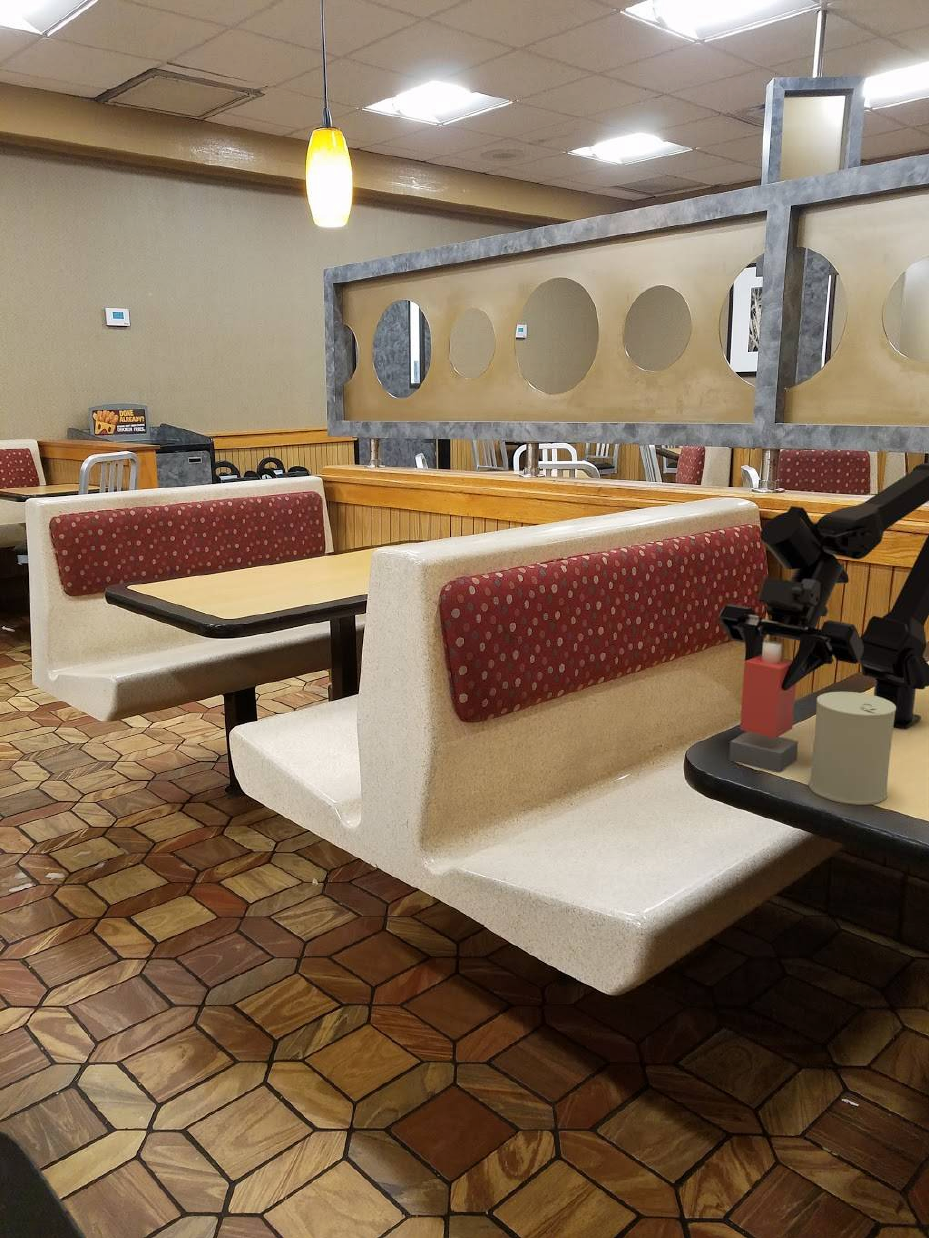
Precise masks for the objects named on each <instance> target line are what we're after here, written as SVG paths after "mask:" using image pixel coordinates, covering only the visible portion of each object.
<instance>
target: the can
mask: <svg viewBox="0 0 929 1238" xmlns="http://www.w3.org/2000/svg"><path fill="white" fill-rule="evenodd" d="M815 710H816V712H815V723H814V724H815V725H814V729H815V730H814V736H813V737H814V738H813V739H814V740H813V749H812V750H813V751H812V758H811V769H810V776H809V777H810V778H809V780H808V787H809V789H810V790H811V791H812V792H813V793H814V794H816V795H818V796H819V797H821V798H823V799H826V800H828V801H832V802H836V803H841V804H845V805H847V804H848V805H854V806H855V805H857V806H858V805H859V806H867V805H876V804H879V803H882V802H884V801H885V800H886V799H887V798H888V779H889V778H888V777H889V770H890V769H889V768H890V757H891V750H892V739H893V731H894V726H893V725H894V717H895V711H896V706H895V705H894V704H893V703H892V702H890V701H889V700H886V699H884V698H881V697H878V696H874V694H868V693H864V692H863V693H862V692H856V691H854V692H853V691H831V692H824V693H822V694H820V695H818V696H817V697H816V709H815Z"/></svg>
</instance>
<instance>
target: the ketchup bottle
mask: <svg viewBox="0 0 929 1238" xmlns="http://www.w3.org/2000/svg"><path fill="white" fill-rule="evenodd" d="M782 647H783V642H780V641H776V640H764V642H763V649H762V655H759V656H757V657H754V658H752V659H750V660H747V661H745V660H744V667H743V682H742V694H741V712H740V727H739V730H740V731H745V732H746V731H748V732H752V733H756V734H760V735H764V736H767V737H771V738H777V737H781V736H782V735H784V734H786V733H788V732H789V731H791V730H793V723H794V713H795V712H794V710H795V699H796V698H795V697H796V684H797V683H796V684H794V685H793V686H792V687H791V688H789V689H788V690H786V691H785V690H783V689H782V683H783V680H784V677H785V675H786V673H787V671H788V669H789V667H790V665H791V663H792V661H793V659H789V658H783V657H782V651H783V650H782Z"/></svg>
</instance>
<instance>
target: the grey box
mask: <svg viewBox="0 0 929 1238" xmlns="http://www.w3.org/2000/svg"><path fill="white" fill-rule="evenodd" d="M798 747H799V741H798V740H794V739H789V738H787V737H781V736H778V737H777V738H771V737H767V736H764V735H760V734H756V733H752V732H748V731H745V732H743V733H742V734H740V735H738V736H737V737H736V738H734V739H732V740H731V741H730V742H729V755H728V756H729V757H728V761H730V762H733V763H734V762H735V763H739V764H742V765H746V766H750V767H754V768H759V769H762V770H766V771H770V772H773V773H778V774H780V773H781V772H782V771H784V770H785V769H786V768H788V767H789V766H791V765H792V764H793V763H795V762H796V761H797V760H798V759H797V758H798V751H799V750H798ZM794 761H795V762H794Z"/></svg>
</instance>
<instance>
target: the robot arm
mask: <svg viewBox="0 0 929 1238" xmlns="http://www.w3.org/2000/svg"><path fill="white" fill-rule="evenodd" d="M928 502H929V463H926V462H924V463H921V464H917V465H916V466H915V467H913V469H912V471H911V472H909V473H907V474H906V475H904V476H902V477H901V478H900V479H899V480H897V481H895V482H894V483H892V484H890V485H889V486H887V487H886V488H884V489H883V490H881V491H879V492H878V493H876V494H875V495H874V496H872V497H870V498H869V499H867V500H866V501H864V502H862V503H859V504H858V505H857V504H856V505H852V506H847V507H842V508H841V507H840V508H838V509H836V510H833V511H832V512H831V511H830V512H828V513H826V514H824V515H822V516H821V517H820V518H819V519H818V520H817V522H815V523H814V522H813V521H812V520H811V518H810V516H809V514H808V512H807V511H806V509H805V508H804V507H801V506H794V505H792V506H790V507H789V509H788V510H787V511H785V512H781V513H779V514H778V515H776V516H774V517H772V518H771V519H770V520H768V521H766V522H765V523H764V525H763V526H762V528H761V530H760V540H761V541H762V542H763V544H764V545H765V546H766V547H767V549H768V550H769V551H770V552H771V553H772V554H773V556H774V558H776V559H777V561H778V562H779V563H780V565H782V567H783V568H784V569H787V570H794V571H793V572H792V575H791V577H790V579H789V580H788V579H780V578H773V577H764V578H763V580H762V584H761V588H760V591H759V593H758V594H759V595H758V599H757V601H758V602H760V603H763V604H765V605H766V607H765V612H766V614H767V615H769V616H771V618H770V619H763V618H762V617H761V616H760V615H759V616H758V615H757V614H756V613H755V610H753V608H752V607H749V606H743V605H738V604H732V603H729V604H726V605H724V606H723V607H722V608H721V610H720V612H719V614H718V616H717V619H718V621H719V622H720V624H721V626H722V628H723V630H724V631H725V633H726V635H727V636H728V638H729V639H730V640H732V641H734V642H739V643H744V646H745V650H744V651H745V652H744V653H745V655H744V662H745V661H747V660H750V659H752V658H754V657H757V656H759V655H762V649H763V642H764V641H765V640H766V639H765V638H767V636H773V637H777V638H782V639H787V640H791V641H797V642H798V641H799V644H798V650H797V652H796V654H795V656H794V657H793V659H792V660H793V661H792V663H791V665H790V667H789V669H788V671H787V673H786V675H785V677H784V680H783V683H782V689H783V690H785V691H786V690H788V689H789V688H791V687H792V686H793V685H794V684H797V683H798V682H800V681H802V680H803V678H805V677H806V676H807V675H809V674H811V673H812V672H815V671H816V670H817V669H819V668H821V667H822V666H824V665H826V664H827V665H831V664H833V662H834V659H835V660H836V661H837V662H842V663H847V664H853V665H856V664H859V663H860V667H861V671H862V672H861V673H862V676H864V677H870V678H873V679H874V687H873V689H874V690H873V695H874V696H878V697H881V698H884V699H886V700H889V701H890V702H892V703H893V704H894V705H895V706H896V711H895V717H894V725H893V727H896V728H901V729H907V728H909V727H910V726H912V725H914V724H916V723H917V722H919V721H921V719H922V716H921V715H919V714H915V713H914V708H915V700H916V691H917V690H925V689H926V687H929V663H928V661H927V660H926V659H925V657H924V654H925V651H926V649H927V637H926V632H925V630H926V629H925V624H926V621H927V620H928V618H929V533H928V534H927V536H926V538H925V540H924V543H923V544H922V546H921V549H920V551H919V553H918V555H917V556H916V559H915V561H914V563H913V566H912V567H911V569H910V570H909V573H908V575H907V578H906V579H905V582H904V583H903V585H902V587H901V589H900V592H899V594H898V596H896V600H895V602H894V603H893V606H892V608H891V610H890V611H889V612H887V613H886V614H884V615H883V616H882V617H881V616H877V615H872V617H870V619H869V620H868V623H867V626H866V628H865V631H864V632H863V633H862V635H861V636H860V634H859V631H858V629H857V627H856V626H855V624H853V623H847V622H841V621H837V620H836V621H834V620H830V619H829V620H825V621H823V624H822V626H821V627H820V628H817V626H818V623H819V621H820V619H821V617H824V618H825V617H826V616H827V614H828V612H829V609H828V607H827V604H828V602H829V599H830V597H831V596H832V592H833V590H834V589H835V586H836V585H837V584H848V583H849V582H850V579H849V575H848V573H847V572H846V568H845V564H844V563H840V561H839V560H838V558H837V557H841V558H846V559H852V560H861V559H864V558H866V557H867V556H868V555H870V553H871V552H872V551H873V550H875V548H876V547H877V546H878V545H879V544H880V543H882V540H883V537H884V533H885V531H886V530H887V529H888V528H890V527H892V526H893V525H895V524H896V523H897V522H899V521H901V520H902V519H903V518H906V517H907V516H908V515H910V514H911V513H912V512H914V511H916V510H917V509H919V508H920V507H921V506H923V505H924V504H925V505H926V503H928ZM833 657H834V658H833Z"/></svg>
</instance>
